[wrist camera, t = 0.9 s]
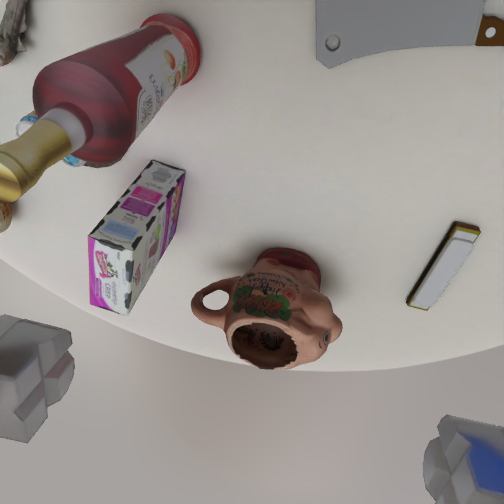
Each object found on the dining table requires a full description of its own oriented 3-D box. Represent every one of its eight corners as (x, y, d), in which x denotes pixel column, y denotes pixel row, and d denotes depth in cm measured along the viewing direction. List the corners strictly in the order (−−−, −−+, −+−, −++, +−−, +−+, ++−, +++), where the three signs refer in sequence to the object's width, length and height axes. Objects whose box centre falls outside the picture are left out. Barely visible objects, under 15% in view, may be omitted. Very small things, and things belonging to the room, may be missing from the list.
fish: (5, 55, 48) (25, 85, 47) (-30, 48, 45) (-10, 80, 44) (44, -56, 41) (68, -22, 40) (5, -73, 38) (30, -37, 37)
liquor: (142, -2, 40) (-90, 91, 19) (212, 23, 41) (59, 143, 20) (136, 71, 45) (-55, 211, 24) (199, 94, 45) (64, 251, 24)
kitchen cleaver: (645, -73, 30) (584, 71, 36) (637, -73, 31) (579, 68, 37) (314, -58, 35) (309, 68, 41) (315, -58, 35) (309, 66, 41)
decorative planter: (212, 290, 66) (185, 362, 55) (207, 229, 58) (174, 300, 47) (338, 307, 63) (335, 387, 52) (350, 246, 55) (349, 325, 44)
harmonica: (453, 220, 49) (456, 229, 48) (478, 226, 49) (482, 236, 48) (405, 299, 59) (406, 309, 57) (426, 304, 59) (428, 315, 57)
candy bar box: (149, 157, 52) (85, 234, 40) (186, 169, 52) (134, 250, 40) (143, 223, 59) (87, 306, 47) (175, 234, 59) (128, 319, 47)
